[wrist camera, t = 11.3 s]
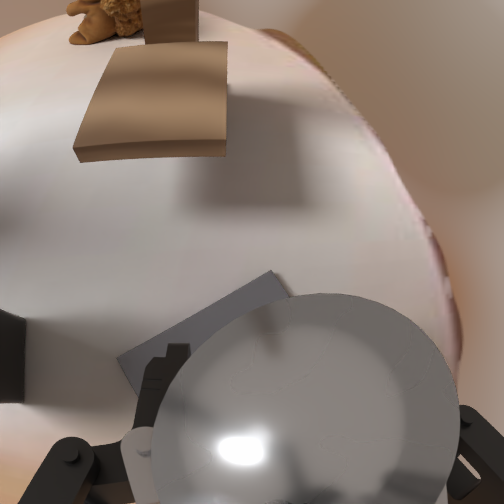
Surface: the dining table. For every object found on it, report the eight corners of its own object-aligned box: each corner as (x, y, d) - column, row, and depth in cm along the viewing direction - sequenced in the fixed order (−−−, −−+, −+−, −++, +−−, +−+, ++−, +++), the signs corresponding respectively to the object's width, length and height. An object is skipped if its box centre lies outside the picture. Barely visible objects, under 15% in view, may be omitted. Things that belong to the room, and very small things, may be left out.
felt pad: (215, 504, 16) (215, 507, 15) (119, 358, 19) (116, 357, 18) (362, 410, 19) (365, 411, 18) (269, 272, 22) (271, 269, 22)
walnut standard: (222, 211, 24) (260, -170, 2) (108, 213, 23) (-10, -106, 1) (224, 83, 29) (244, -135, 7) (139, 86, 28) (117, -124, 6)
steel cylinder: (234, 453, 15) (274, 615, 2) (186, 382, 17) (86, 401, 4) (306, 407, 17) (490, 448, 4) (259, 338, 18) (363, 237, 5)
